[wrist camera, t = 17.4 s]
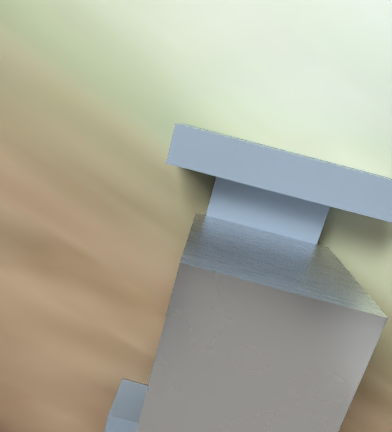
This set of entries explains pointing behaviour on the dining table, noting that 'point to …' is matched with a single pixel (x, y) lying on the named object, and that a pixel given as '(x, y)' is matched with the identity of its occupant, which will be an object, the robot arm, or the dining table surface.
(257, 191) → the cradle
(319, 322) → the grey rectangular block
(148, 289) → the dining table surface
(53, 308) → the dining table surface
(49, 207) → the dining table surface
